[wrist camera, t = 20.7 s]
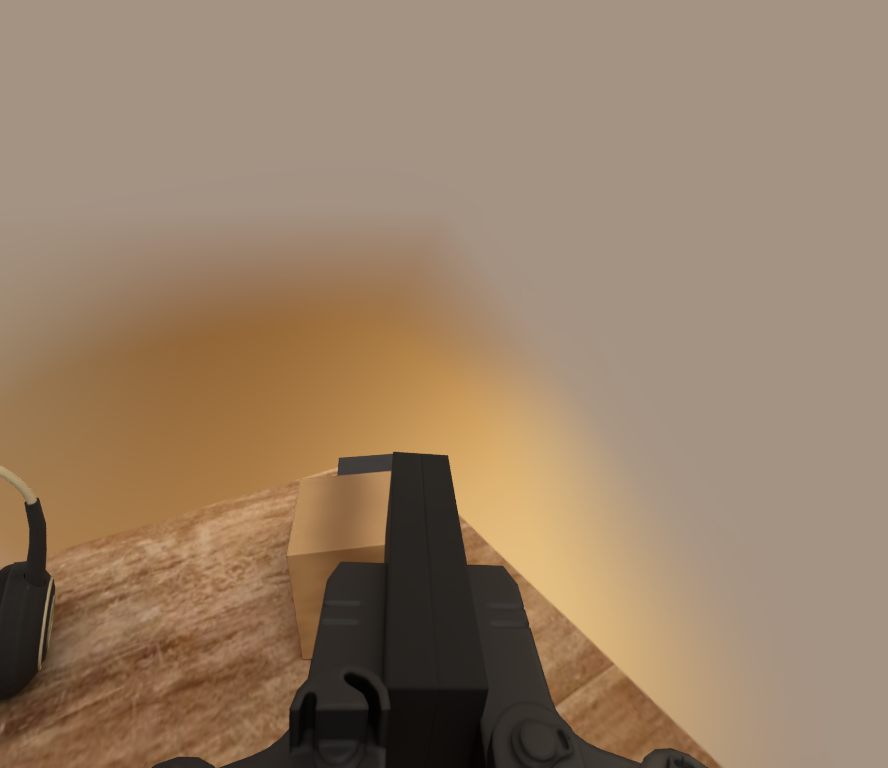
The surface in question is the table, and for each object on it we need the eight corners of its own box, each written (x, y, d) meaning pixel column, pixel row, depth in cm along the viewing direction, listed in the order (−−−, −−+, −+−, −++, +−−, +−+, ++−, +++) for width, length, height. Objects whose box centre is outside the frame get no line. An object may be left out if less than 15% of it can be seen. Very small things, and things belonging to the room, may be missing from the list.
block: (408, 507, 52) (407, 452, 49) (415, 552, 45) (414, 492, 43) (343, 513, 51) (338, 457, 48) (341, 560, 44) (335, 499, 42)
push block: (409, 558, 45) (407, 469, 41) (422, 642, 36) (421, 540, 33) (312, 570, 43) (300, 478, 39) (302, 660, 35) (286, 555, 31)
